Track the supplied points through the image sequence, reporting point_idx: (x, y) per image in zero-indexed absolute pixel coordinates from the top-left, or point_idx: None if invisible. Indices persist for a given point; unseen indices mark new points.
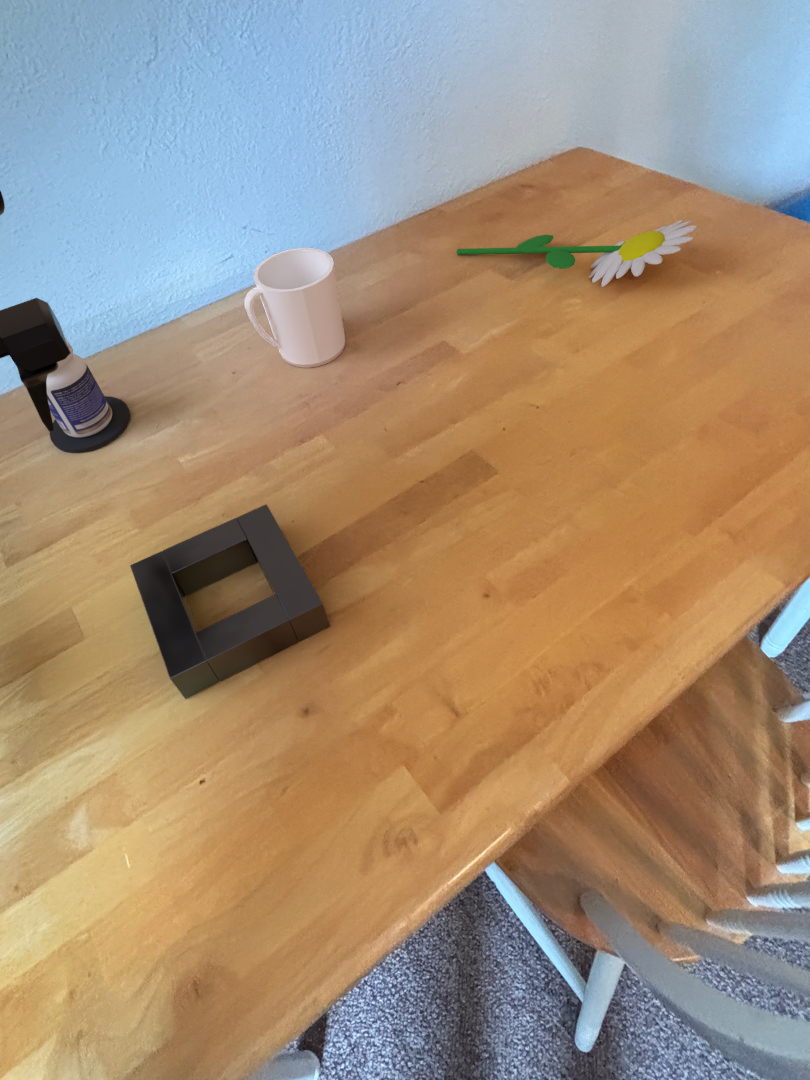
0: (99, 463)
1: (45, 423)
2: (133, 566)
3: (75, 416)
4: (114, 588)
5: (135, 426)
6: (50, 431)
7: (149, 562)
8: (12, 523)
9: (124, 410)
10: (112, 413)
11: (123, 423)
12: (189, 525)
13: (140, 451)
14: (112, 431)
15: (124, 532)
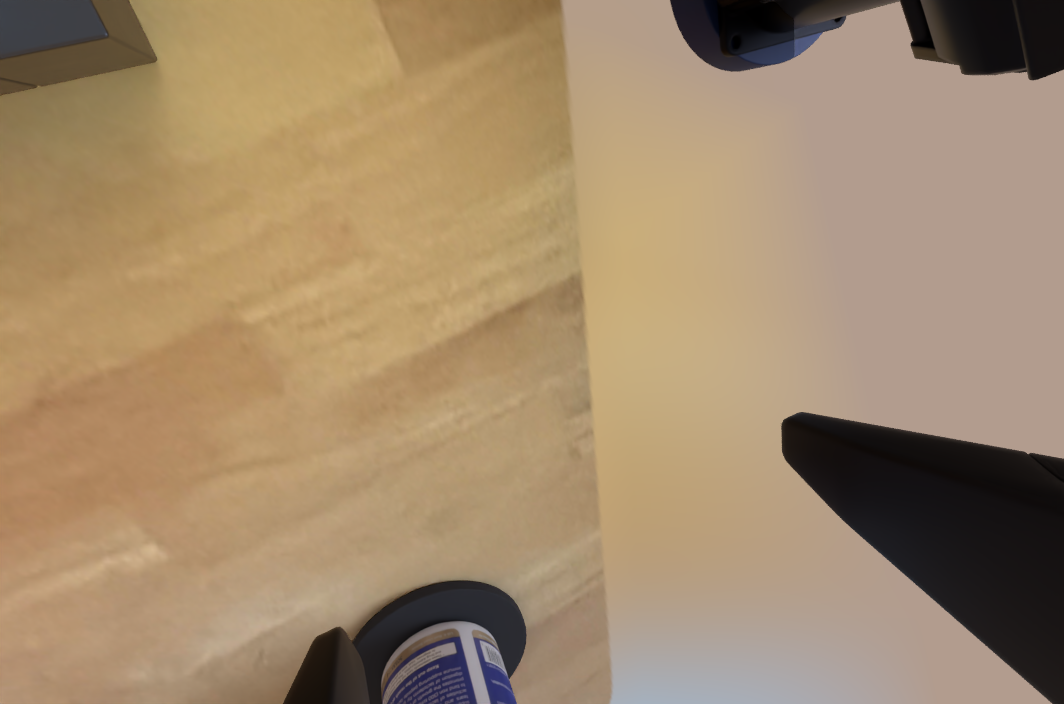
0: (402, 550)
1: (324, 685)
2: (85, 19)
3: (446, 680)
4: (278, 102)
5: None
6: (330, 631)
7: (3, 13)
8: (583, 401)
9: None
10: None
11: None
12: (48, 299)
13: (295, 582)
14: (376, 638)
15: (288, 317)
